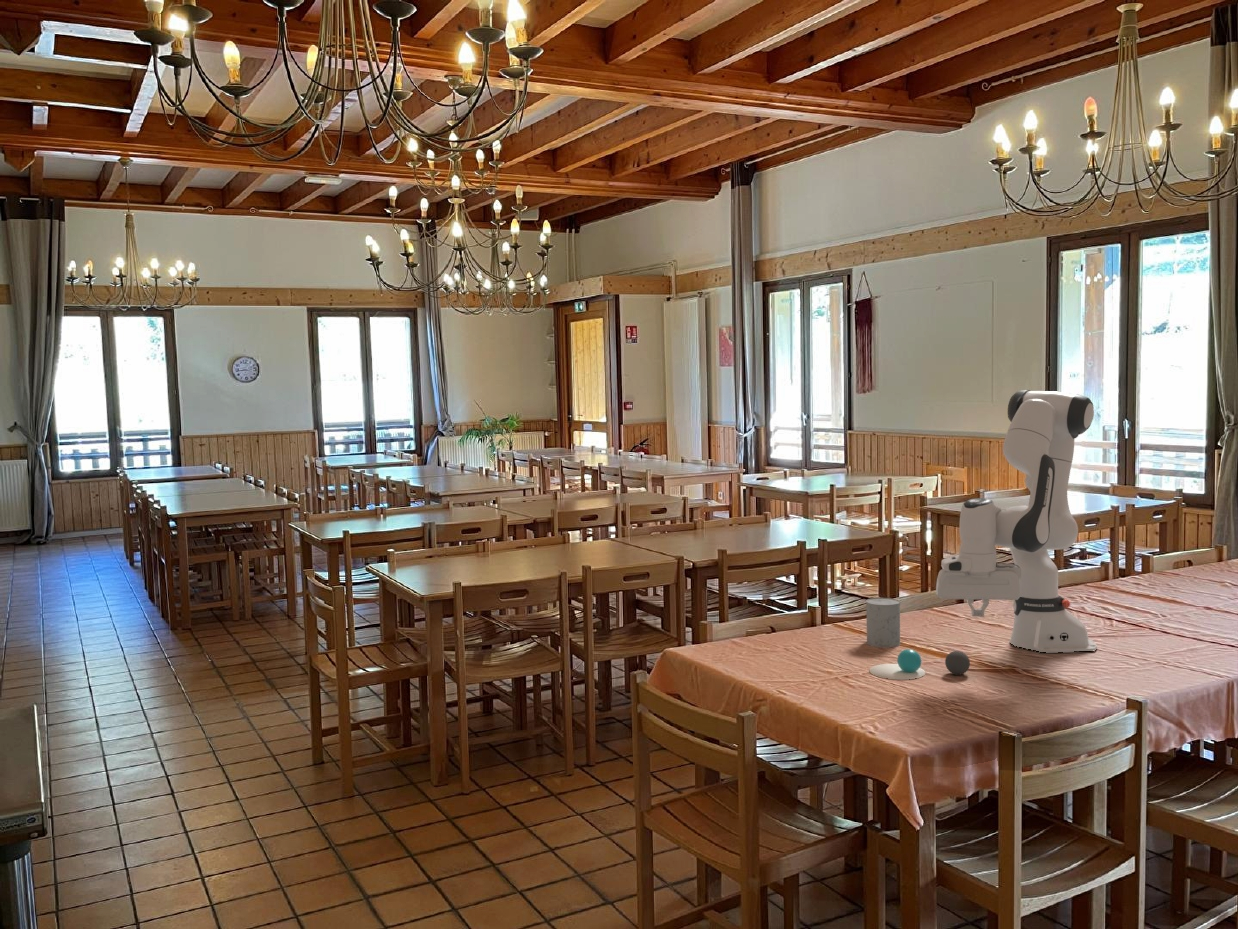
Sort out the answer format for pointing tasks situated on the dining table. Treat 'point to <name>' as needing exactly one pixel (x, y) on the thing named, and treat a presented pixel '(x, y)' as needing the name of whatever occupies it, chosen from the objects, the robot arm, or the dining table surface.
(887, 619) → the grey speckled stone cylinder
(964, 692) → the dining table surface
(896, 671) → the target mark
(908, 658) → the object ball
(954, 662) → the dark grey ball
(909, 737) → the dining table surface
